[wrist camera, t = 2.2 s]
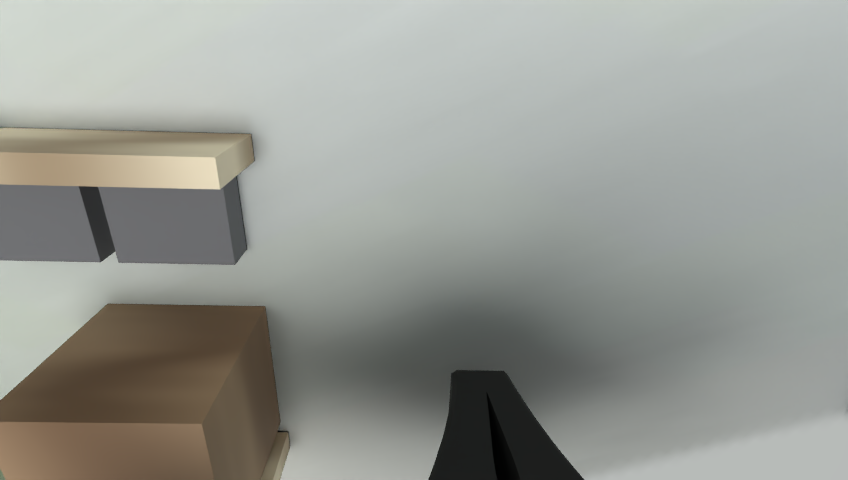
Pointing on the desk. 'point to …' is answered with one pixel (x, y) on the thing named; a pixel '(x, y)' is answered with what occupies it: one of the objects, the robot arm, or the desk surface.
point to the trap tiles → (121, 224)
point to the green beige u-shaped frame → (130, 175)
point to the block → (148, 399)
